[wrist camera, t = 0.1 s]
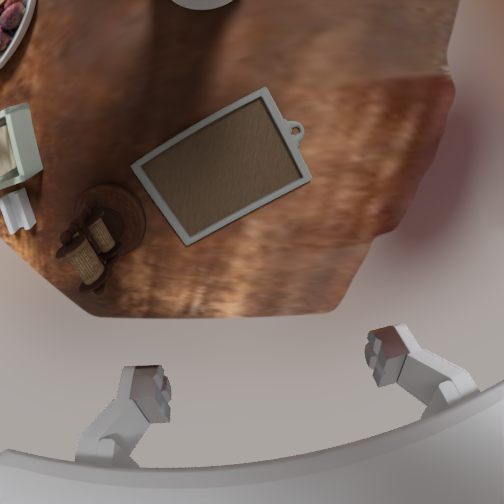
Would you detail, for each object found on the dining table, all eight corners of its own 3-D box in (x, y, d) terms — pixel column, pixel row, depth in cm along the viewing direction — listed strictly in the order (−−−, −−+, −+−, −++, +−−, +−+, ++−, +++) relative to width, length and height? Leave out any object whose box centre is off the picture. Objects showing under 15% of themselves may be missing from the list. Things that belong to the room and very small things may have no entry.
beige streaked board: (13, 123, 44) (-30, 140, 32) (22, 119, 44) (-21, 135, 32) (22, 161, 48) (-18, 186, 36) (31, 158, 48) (-9, 182, 36)
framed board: (129, 166, 52) (280, 80, 48) (131, 164, 54) (278, 80, 49) (186, 246, 62) (325, 173, 57) (186, 242, 63) (322, 170, 58)
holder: (5, 194, 51) (-3, 199, 48) (25, 187, 51) (17, 193, 49) (17, 227, 55) (10, 234, 53) (36, 222, 56) (29, 229, 53)
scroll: (65, 200, 54) (17, 251, 37) (126, 168, 53) (88, 211, 36) (100, 259, 62) (69, 323, 45) (160, 234, 61) (142, 298, 44)
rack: (-13, 122, 43) (-33, 129, 37) (28, 102, 43) (8, 107, 37) (2, 183, 50) (-16, 195, 44) (43, 169, 50) (26, 180, 44)
